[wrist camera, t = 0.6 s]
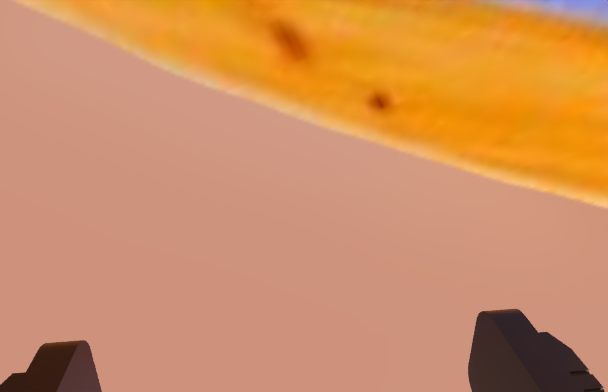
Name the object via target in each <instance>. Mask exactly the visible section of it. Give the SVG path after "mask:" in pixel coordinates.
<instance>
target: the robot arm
mask: <svg viewBox="0 0 608 392" xmlns="http://www.w3.org/2000/svg"><path fill="white" fill-rule="evenodd" d="M468 375H469V382H470V386H471V389H472V392H604V388H603V386H602V385H601V384H600V383H599V381H598V380H597V379H596V378H595V377H594V376H593V375H592V374H590V373H589V370H588V368H587V367H586V366H585V365H584V364H583V362H582V361H581V360H580V359H579V358H578V357H577V355H576V354H575V353H574V352H573V350H572V349H571V348H569V347H568V346H566V345H565V344H563V343H562V342H561V341H559V340H558V339H556V338H555V337H553V336H552V335H550V334H549V333H548V332H540V333H538V332H537V330H536V329H535V328H534V327H533V325H532V324H531V323H530V322H529V320H528V319H527V318H526V316H524V314H523V313H522V312H521V311H520V310H518V309H507V310H494V311H482V312H480V313H479V315H478V317H477V321H476V326H475V332H474V337H473V343H472V349H471V354H470V359H469V366H468ZM0 392H102V391H101V387H100V383H99V379H98V376H97V372H96V368H95V364H94V361H93V357H92V353H91V349H90V346H89V344H88V343H87V342H86V341H84V340H83V341H70V342H56V343H45V344H43V345H42V346H41V347H40V348H39V350H38V352H37V353H36V355H35V357H34V359H33V361H32V362H31V364H30V366H29V368H28V369H27V371H26V373H14V374H12V375H11V376H9V377H8V378H7V379H6V380H5V381H4V382H3V383H2V384H1V385H0Z"/></svg>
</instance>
